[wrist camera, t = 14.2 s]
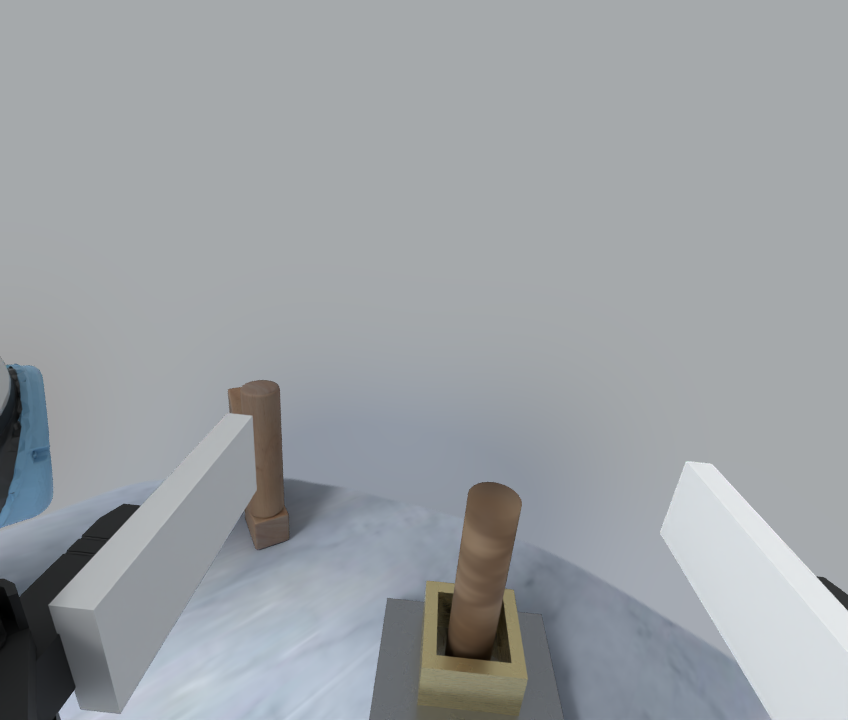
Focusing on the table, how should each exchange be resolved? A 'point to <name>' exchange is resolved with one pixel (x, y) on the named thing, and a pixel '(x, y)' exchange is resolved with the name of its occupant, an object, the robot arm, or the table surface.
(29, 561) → the table surface
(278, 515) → the wooden block stack
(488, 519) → the wooden cylinder
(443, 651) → the yellow socket on base
